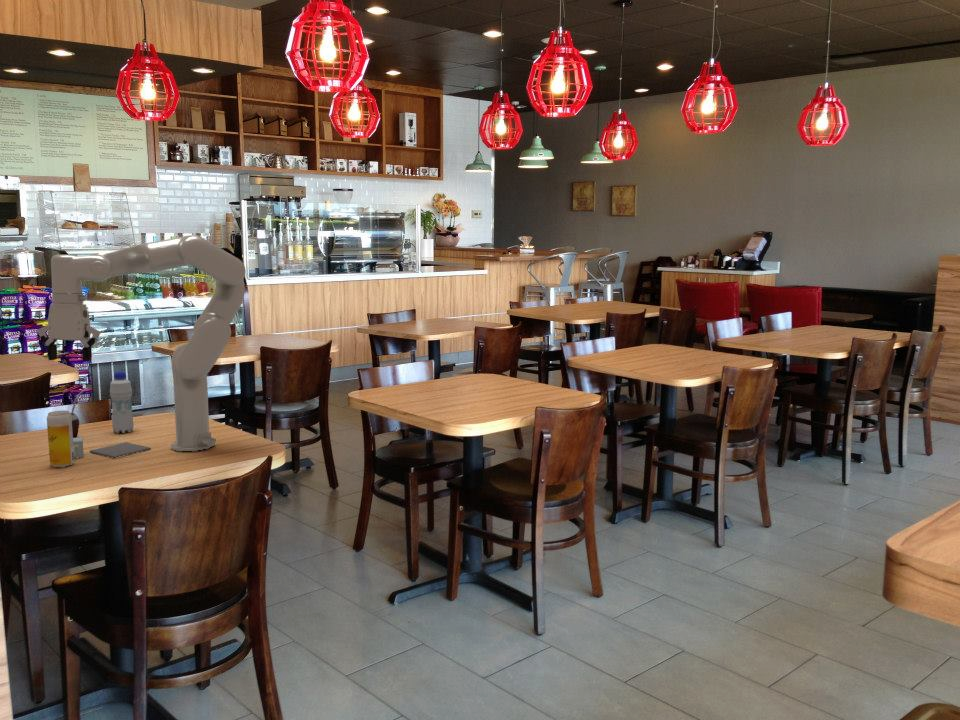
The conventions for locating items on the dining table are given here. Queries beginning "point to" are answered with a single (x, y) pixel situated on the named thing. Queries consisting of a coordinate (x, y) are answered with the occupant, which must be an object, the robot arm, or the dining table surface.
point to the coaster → (120, 449)
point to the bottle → (121, 403)
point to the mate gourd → (75, 419)
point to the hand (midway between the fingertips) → (69, 360)
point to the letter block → (78, 447)
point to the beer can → (60, 438)
